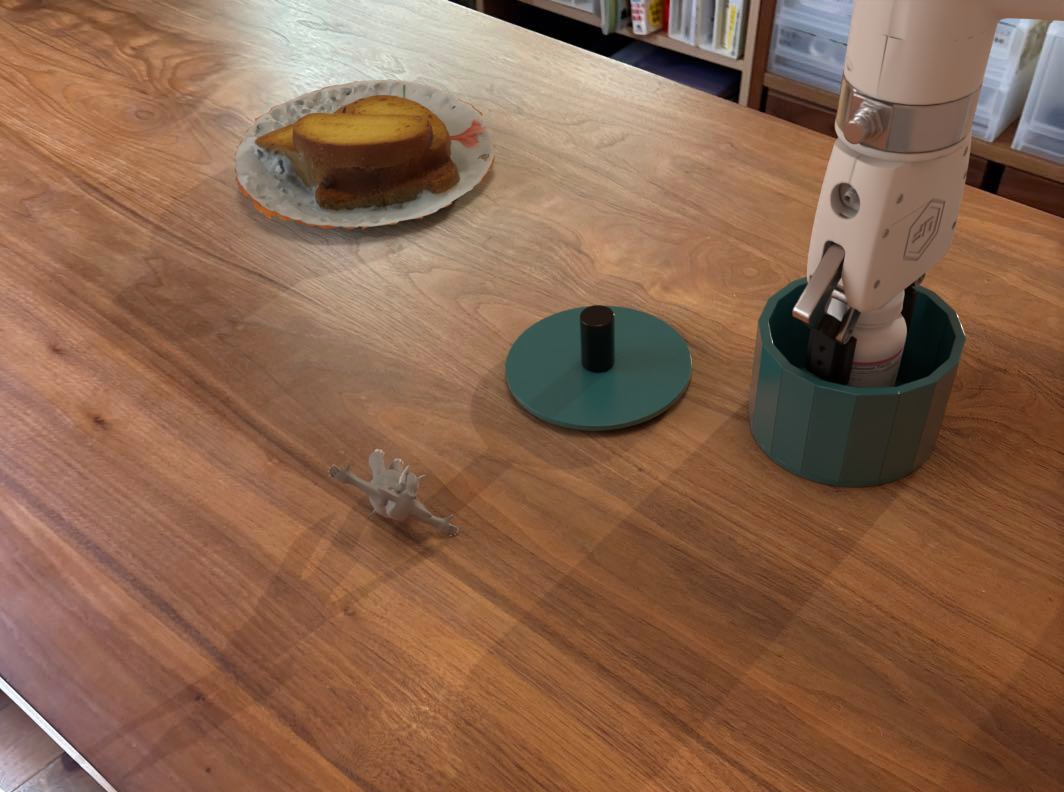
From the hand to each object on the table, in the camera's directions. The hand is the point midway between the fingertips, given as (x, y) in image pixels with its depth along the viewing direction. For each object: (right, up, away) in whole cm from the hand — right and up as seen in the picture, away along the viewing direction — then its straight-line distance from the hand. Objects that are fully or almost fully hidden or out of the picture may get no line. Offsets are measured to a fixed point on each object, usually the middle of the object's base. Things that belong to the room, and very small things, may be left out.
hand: (856, 351), depth 76 cm
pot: (0, -4, +5) cm, 6 cm away
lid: (-17, 0, +10) cm, 20 cm away
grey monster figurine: (-32, -12, +2) cm, 34 cm away
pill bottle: (0, -4, +5) cm, 6 cm away
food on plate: (-38, +23, +33) cm, 55 cm away
